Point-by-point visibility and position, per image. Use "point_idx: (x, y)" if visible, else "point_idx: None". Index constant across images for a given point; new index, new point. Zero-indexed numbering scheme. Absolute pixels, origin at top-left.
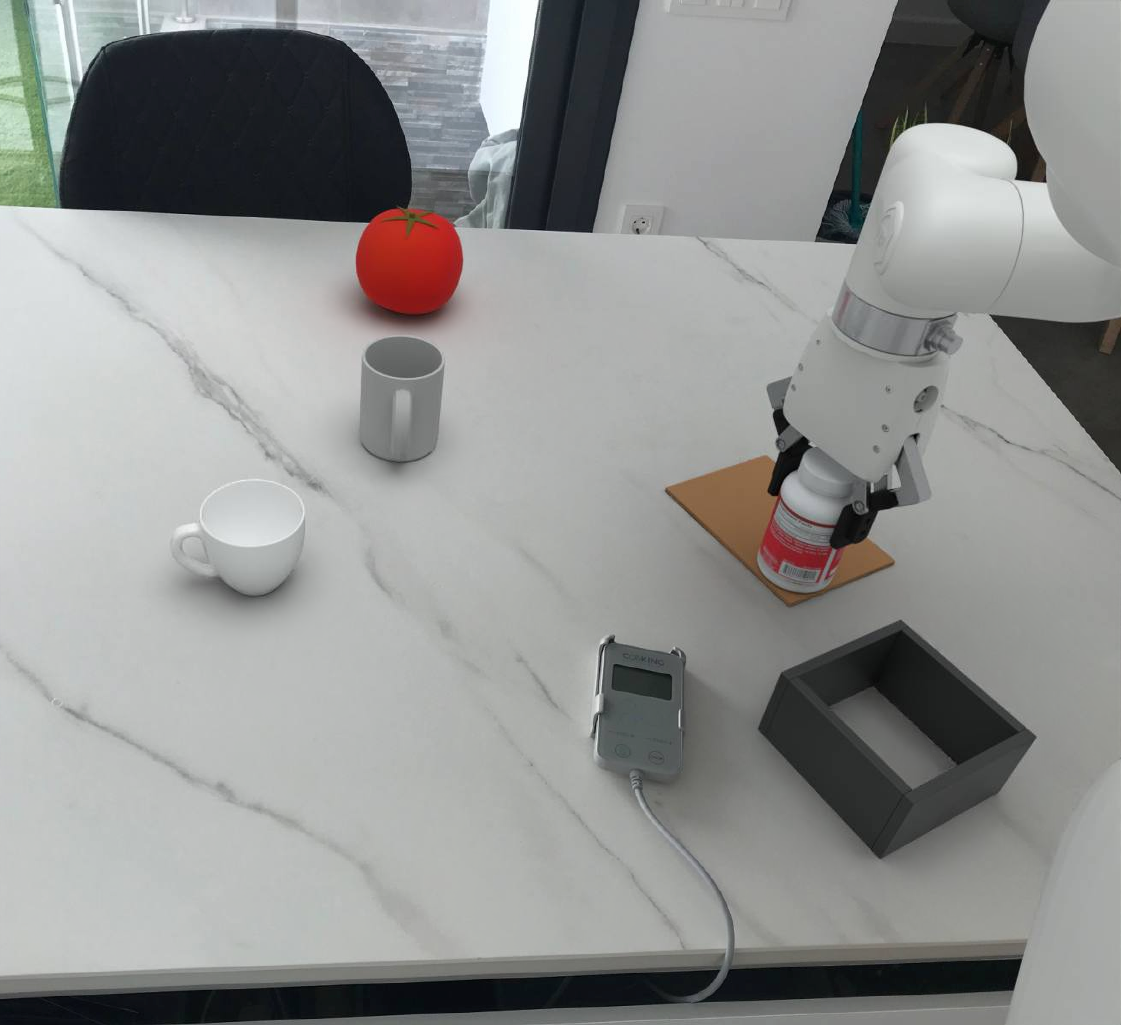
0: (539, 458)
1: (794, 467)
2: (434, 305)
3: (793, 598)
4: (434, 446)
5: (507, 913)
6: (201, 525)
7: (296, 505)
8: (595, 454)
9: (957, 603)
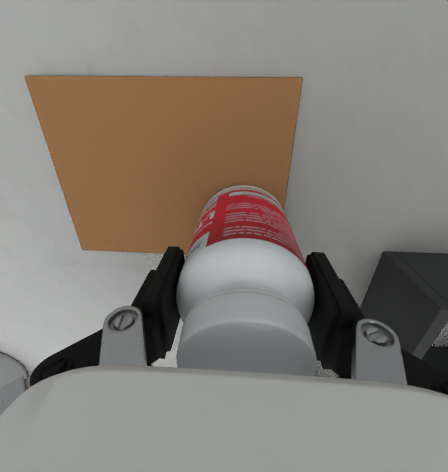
0: (24, 308)
1: (173, 313)
2: None
3: None
4: (9, 360)
5: None
6: None
7: None
8: (18, 268)
9: (413, 50)
